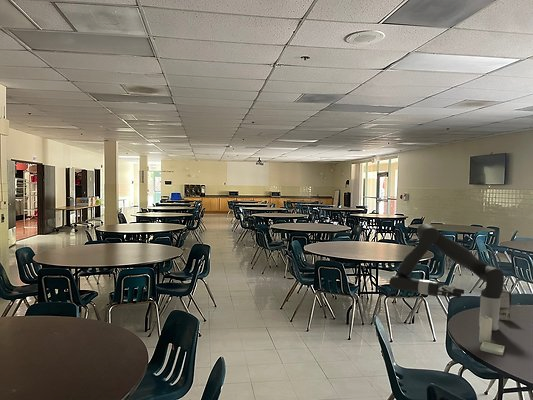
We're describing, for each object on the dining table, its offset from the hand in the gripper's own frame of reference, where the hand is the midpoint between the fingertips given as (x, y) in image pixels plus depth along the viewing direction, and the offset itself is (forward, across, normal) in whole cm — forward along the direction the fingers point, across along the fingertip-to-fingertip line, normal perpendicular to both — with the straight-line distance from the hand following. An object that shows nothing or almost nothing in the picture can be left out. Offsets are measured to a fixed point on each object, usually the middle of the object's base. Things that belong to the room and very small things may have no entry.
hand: (462, 293), depth 201 cm
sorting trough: (+15, -8, +22) cm, 28 cm away
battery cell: (+11, 0, +22) cm, 25 cm away
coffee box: (+14, +50, +22) cm, 56 cm away
